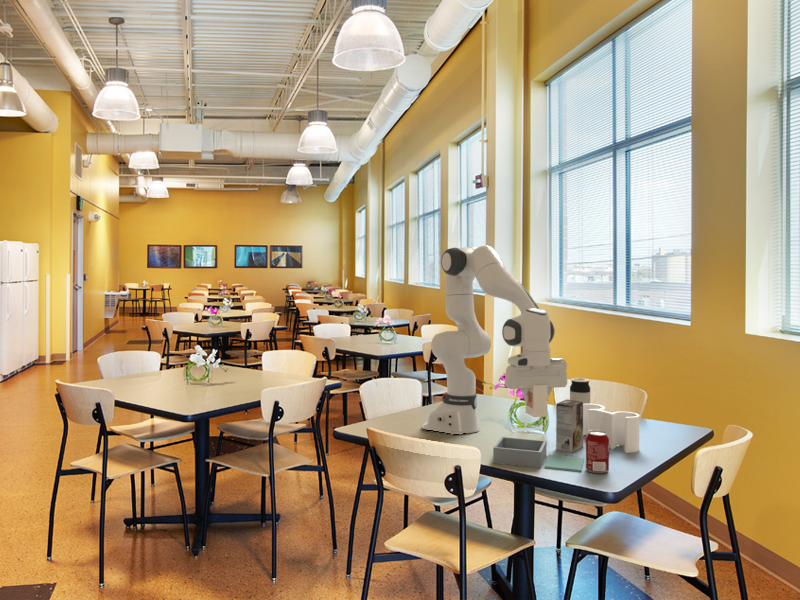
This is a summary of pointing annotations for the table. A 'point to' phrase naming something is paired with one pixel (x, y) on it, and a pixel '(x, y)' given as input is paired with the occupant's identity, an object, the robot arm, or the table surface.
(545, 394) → the label box
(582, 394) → the travel mug
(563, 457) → the mat
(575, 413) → the coffee box
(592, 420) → the bracket
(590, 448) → the soda can
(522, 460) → the parts bin
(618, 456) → the table surface
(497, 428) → the table surface
